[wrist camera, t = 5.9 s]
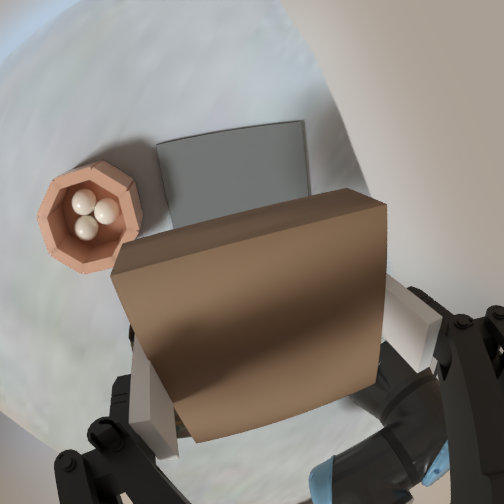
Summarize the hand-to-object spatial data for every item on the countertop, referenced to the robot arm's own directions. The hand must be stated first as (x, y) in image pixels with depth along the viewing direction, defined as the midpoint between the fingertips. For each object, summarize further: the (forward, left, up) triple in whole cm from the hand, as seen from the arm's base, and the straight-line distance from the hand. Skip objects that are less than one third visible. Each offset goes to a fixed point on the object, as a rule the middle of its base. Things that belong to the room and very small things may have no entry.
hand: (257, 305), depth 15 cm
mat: (0, -3, -17) cm, 17 cm away
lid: (0, 0, +1) cm, 1 cm away
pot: (+3, +11, -17) cm, 20 cm away
